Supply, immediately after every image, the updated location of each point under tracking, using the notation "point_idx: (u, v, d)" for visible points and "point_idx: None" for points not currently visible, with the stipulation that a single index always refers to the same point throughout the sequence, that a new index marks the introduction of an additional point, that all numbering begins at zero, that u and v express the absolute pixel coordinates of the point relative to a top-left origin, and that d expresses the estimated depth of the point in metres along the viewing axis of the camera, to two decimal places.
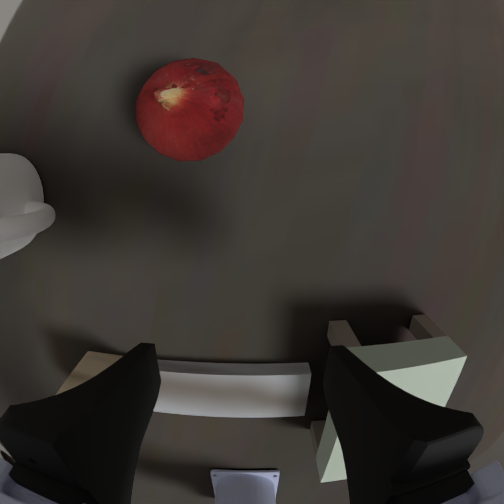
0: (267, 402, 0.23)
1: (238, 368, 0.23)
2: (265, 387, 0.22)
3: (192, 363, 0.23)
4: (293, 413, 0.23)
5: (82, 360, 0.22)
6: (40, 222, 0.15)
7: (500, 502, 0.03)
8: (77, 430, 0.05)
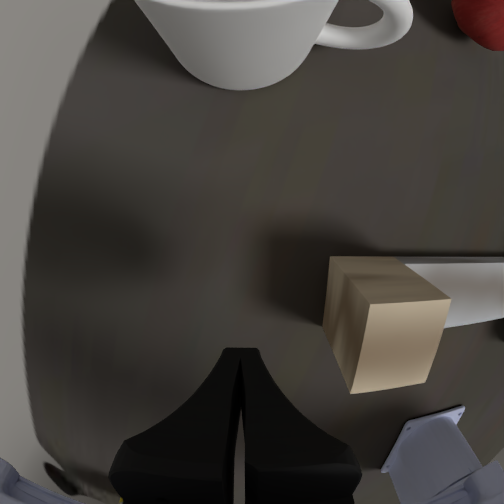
0: None
1: (490, 259, 0.18)
2: None
3: (455, 257, 0.18)
4: None
5: (339, 263, 0.17)
6: None
7: (500, 502, 0.03)
8: (225, 453, 0.05)
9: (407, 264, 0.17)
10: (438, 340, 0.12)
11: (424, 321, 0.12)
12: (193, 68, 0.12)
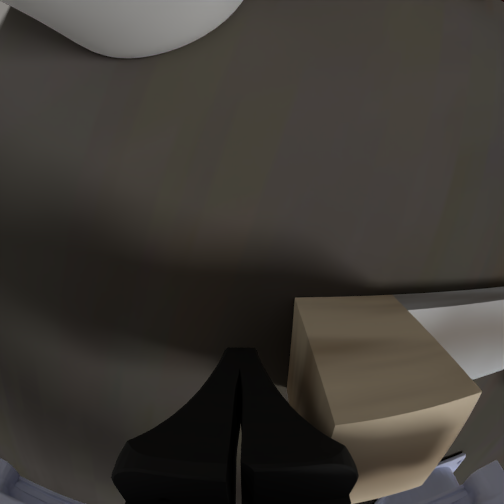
0: None
1: None
2: None
3: (478, 290, 0.12)
4: None
5: (305, 314, 0.11)
6: None
7: (500, 502, 0.03)
8: (228, 453, 0.05)
9: (413, 310, 0.11)
10: (450, 444, 0.06)
11: (432, 430, 0.06)
12: (62, 34, 0.06)
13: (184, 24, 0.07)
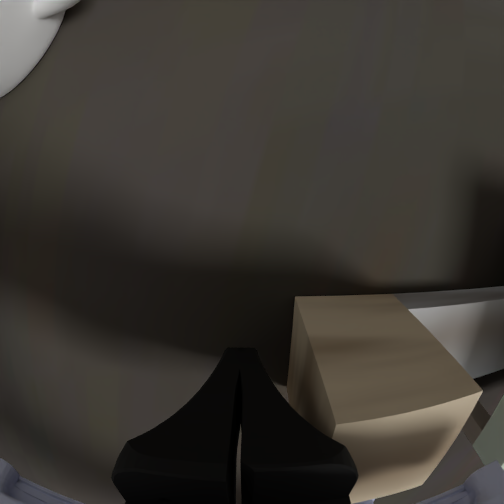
0: None
1: None
2: None
3: (478, 290, 0.12)
4: None
5: (306, 313, 0.11)
6: None
7: (500, 502, 0.03)
8: (228, 453, 0.05)
9: (413, 309, 0.11)
10: (450, 443, 0.06)
11: (433, 429, 0.06)
12: None
13: None
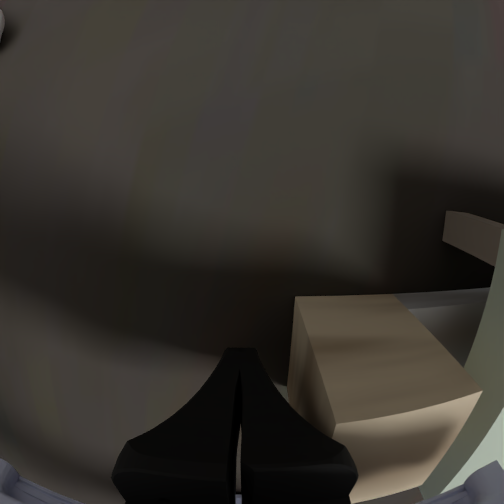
0: None
1: None
2: None
3: (478, 290, 0.12)
4: None
5: (306, 313, 0.11)
6: None
7: (500, 502, 0.03)
8: (228, 453, 0.05)
9: (413, 309, 0.11)
10: (450, 443, 0.06)
11: (433, 428, 0.06)
12: None
13: None
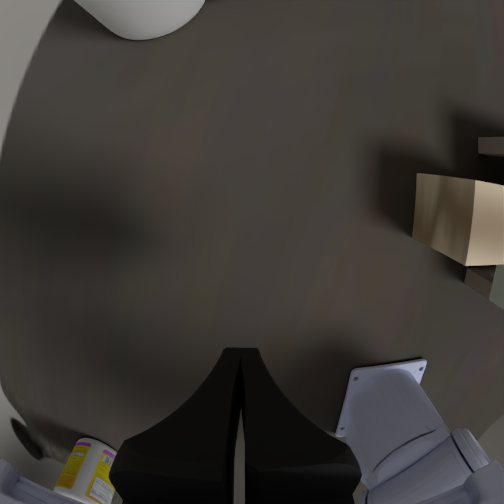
0: None
1: None
2: None
3: None
4: None
5: (429, 174, 0.18)
6: None
7: (500, 502, 0.03)
8: (225, 453, 0.05)
9: None
10: None
11: None
12: (107, 25, 0.13)
13: (169, 21, 0.15)
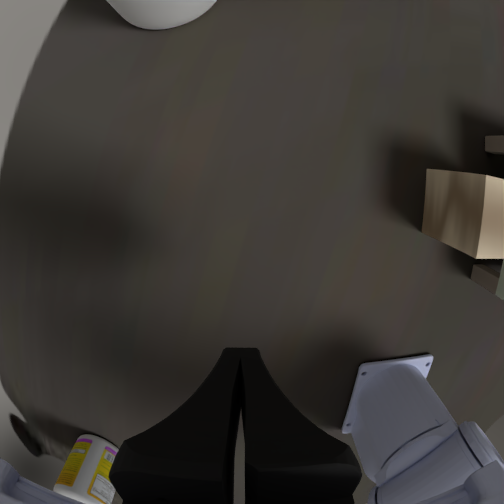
0: None
1: None
2: None
3: None
4: None
5: None
6: None
7: (500, 502, 0.03)
8: (225, 453, 0.05)
9: None
10: None
11: None
12: (123, 12, 0.13)
13: (186, 11, 0.14)
